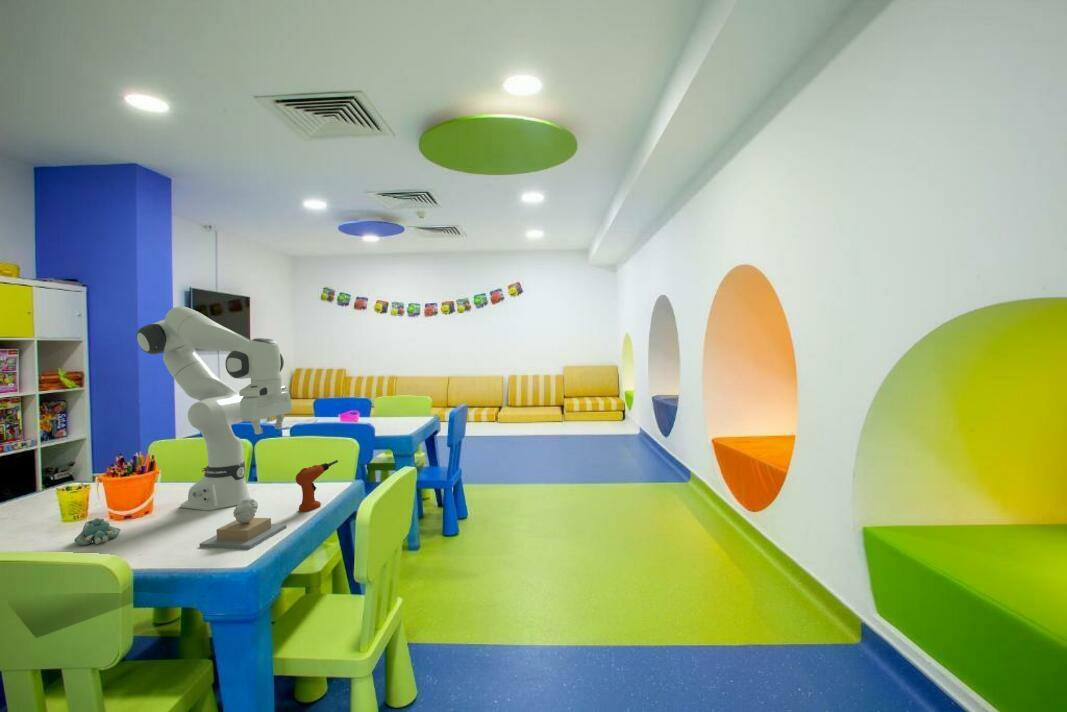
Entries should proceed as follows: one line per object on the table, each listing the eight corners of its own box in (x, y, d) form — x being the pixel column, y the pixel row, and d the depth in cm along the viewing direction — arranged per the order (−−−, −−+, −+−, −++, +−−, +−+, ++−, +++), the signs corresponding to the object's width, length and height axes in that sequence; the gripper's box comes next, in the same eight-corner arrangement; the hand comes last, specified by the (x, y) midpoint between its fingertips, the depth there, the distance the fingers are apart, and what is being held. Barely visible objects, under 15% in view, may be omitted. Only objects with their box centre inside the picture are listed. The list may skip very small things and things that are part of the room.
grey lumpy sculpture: (263, 519, 154) (262, 496, 154) (244, 527, 147) (243, 503, 147) (247, 517, 156) (246, 495, 156) (228, 525, 149) (227, 502, 149)
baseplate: (199, 547, 144) (198, 533, 144) (240, 526, 160) (239, 513, 160) (250, 548, 142) (249, 534, 142) (286, 527, 158) (285, 514, 157)
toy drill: (347, 492, 188) (341, 453, 186) (306, 515, 171) (299, 473, 169) (337, 491, 190) (331, 452, 188) (295, 513, 173) (289, 471, 171)
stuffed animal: (77, 533, 143) (70, 517, 151) (77, 556, 145) (70, 539, 152) (125, 522, 152) (116, 507, 159) (125, 544, 153) (116, 528, 160)
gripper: (278, 385, 174) (280, 425, 175) (234, 392, 154) (237, 437, 154) (295, 385, 173) (297, 425, 174) (253, 391, 153) (255, 437, 153)
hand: (268, 431), depth 164 cm, fingers open, 8 cm apart
